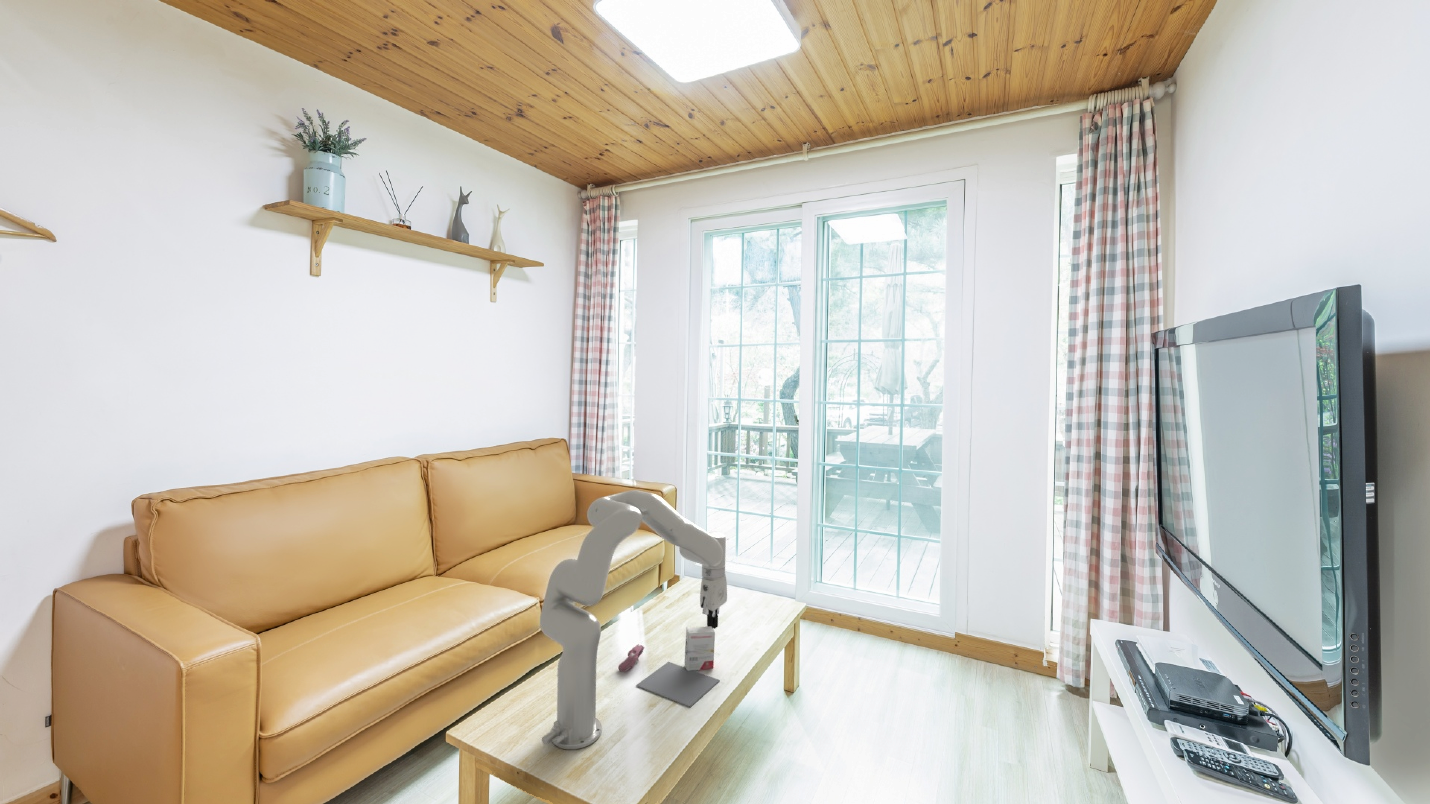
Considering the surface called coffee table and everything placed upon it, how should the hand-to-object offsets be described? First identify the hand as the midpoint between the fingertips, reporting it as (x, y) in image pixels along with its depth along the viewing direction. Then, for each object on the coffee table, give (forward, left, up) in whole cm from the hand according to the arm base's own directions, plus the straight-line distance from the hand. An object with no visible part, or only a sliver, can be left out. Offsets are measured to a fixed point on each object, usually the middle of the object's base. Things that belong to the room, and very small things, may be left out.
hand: (712, 626), depth 179 cm
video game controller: (-18, +18, -11) cm, 28 cm away
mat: (-19, 0, -10) cm, 21 cm away
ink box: (-8, 0, -10) cm, 13 cm away
